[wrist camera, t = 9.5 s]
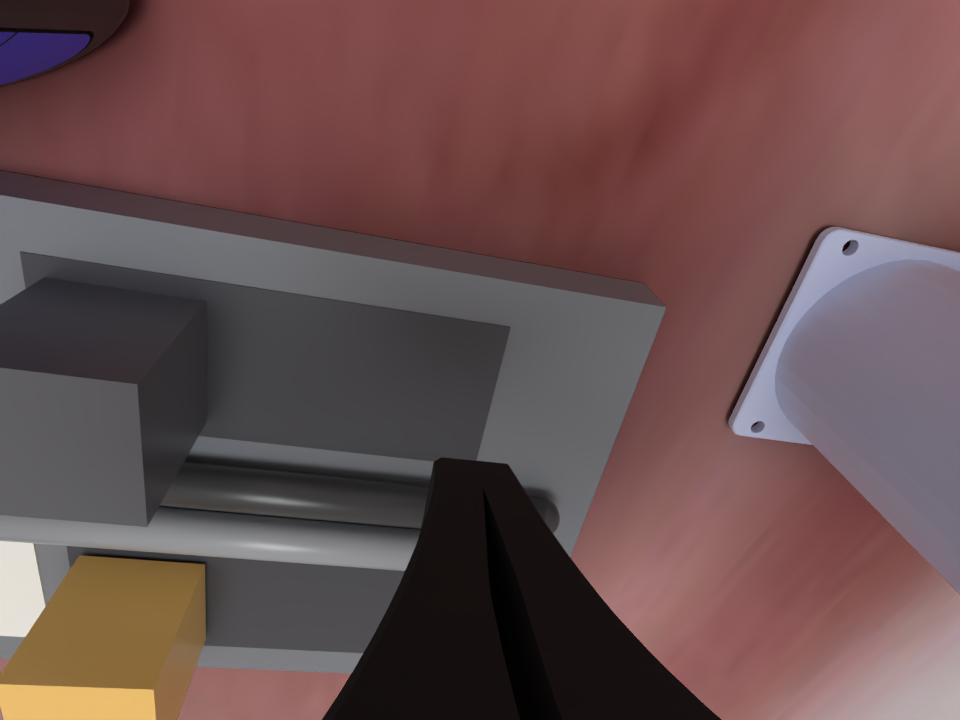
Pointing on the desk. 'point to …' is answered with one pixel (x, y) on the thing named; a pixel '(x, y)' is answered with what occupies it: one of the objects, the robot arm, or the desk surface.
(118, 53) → the desk surface
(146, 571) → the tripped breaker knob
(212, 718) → the desk surface
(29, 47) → the leaning round-cornered charcoal block
